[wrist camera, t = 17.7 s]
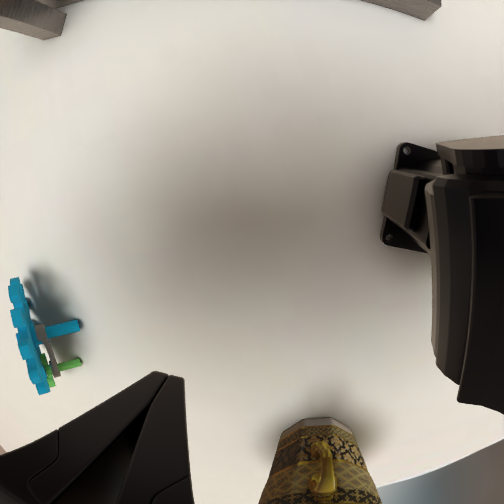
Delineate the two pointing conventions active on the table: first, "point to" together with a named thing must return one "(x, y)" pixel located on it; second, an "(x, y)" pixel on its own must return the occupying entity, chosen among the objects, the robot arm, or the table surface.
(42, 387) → the gear
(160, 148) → the table surface
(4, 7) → the press frame
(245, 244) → the table surface
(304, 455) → the ceramic cup
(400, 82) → the table surface
